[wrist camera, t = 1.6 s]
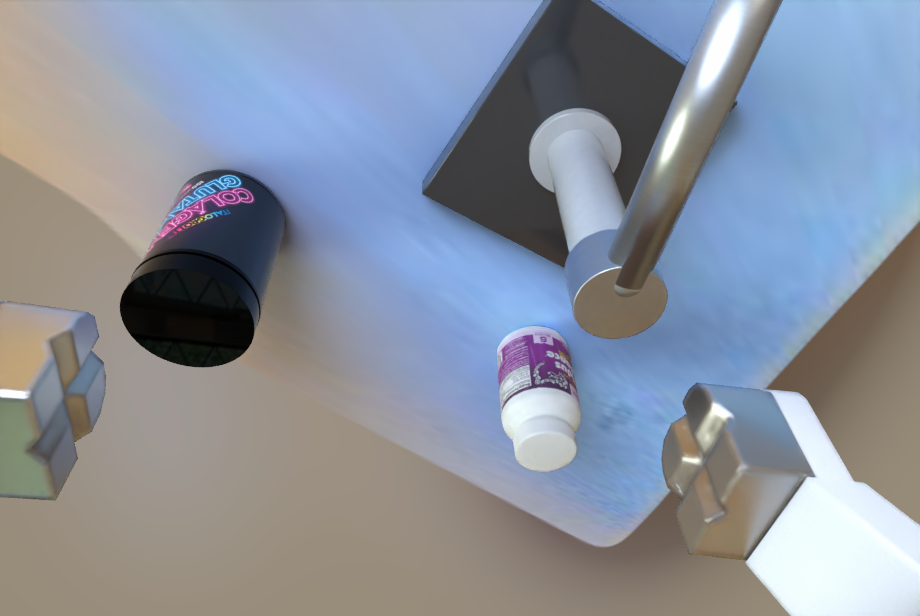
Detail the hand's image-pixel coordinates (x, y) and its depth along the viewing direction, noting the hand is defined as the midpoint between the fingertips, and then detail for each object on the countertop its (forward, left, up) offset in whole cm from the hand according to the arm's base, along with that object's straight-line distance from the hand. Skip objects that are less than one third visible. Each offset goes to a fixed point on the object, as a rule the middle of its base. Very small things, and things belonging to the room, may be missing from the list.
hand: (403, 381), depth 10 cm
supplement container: (+21, -2, -32) cm, 38 cm away
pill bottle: (+21, +21, -32) cm, 44 cm away
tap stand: (+6, +13, -32) cm, 35 cm away
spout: (0, +11, -20) cm, 23 cm away
